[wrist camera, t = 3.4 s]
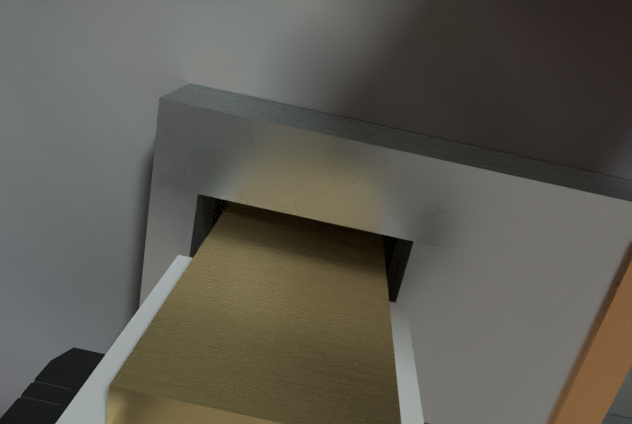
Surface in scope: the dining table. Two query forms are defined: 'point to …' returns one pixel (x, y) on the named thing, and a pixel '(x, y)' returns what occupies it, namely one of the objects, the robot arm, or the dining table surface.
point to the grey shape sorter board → (427, 246)
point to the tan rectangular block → (268, 331)
